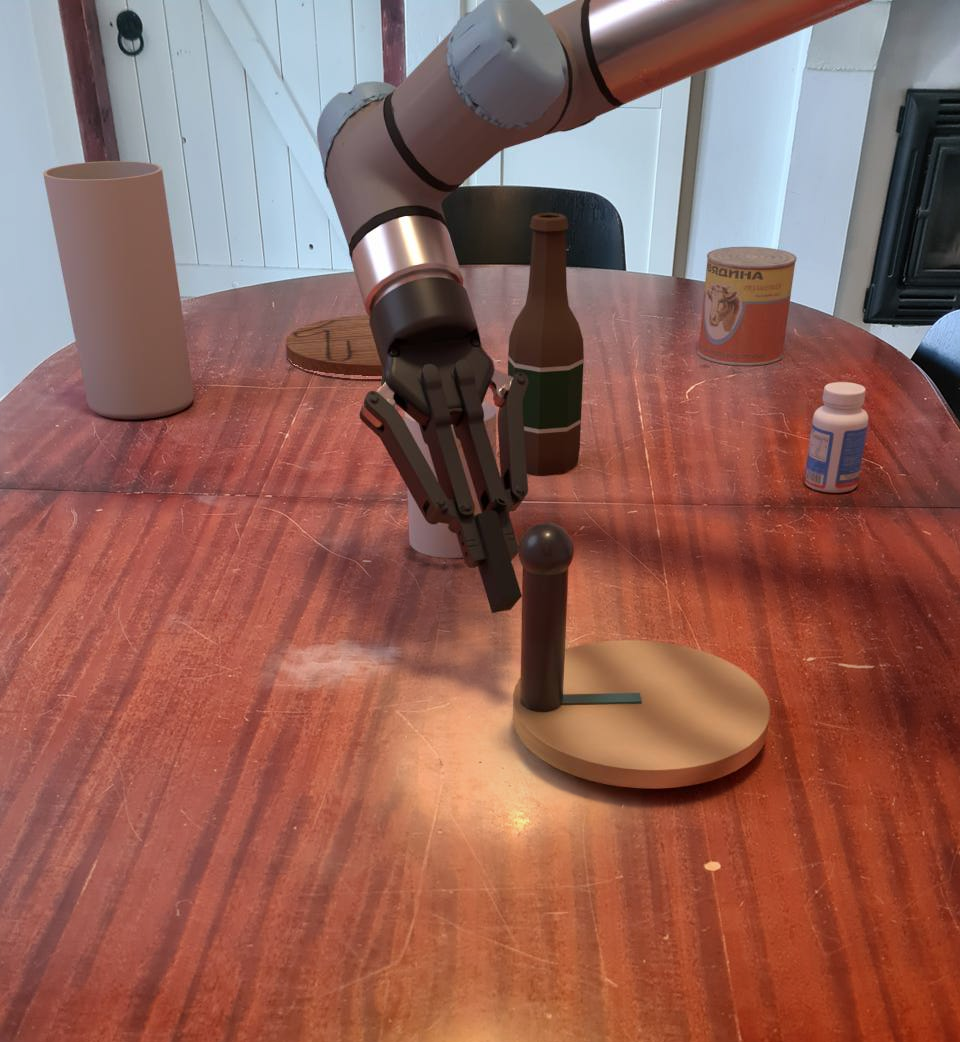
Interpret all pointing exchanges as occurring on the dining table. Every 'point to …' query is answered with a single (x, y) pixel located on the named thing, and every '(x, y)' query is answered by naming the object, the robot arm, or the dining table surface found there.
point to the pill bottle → (837, 439)
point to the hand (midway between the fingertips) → (506, 604)
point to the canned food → (746, 305)
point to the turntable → (624, 693)
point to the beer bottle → (549, 354)
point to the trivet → (336, 347)
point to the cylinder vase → (121, 286)
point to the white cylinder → (422, 533)
